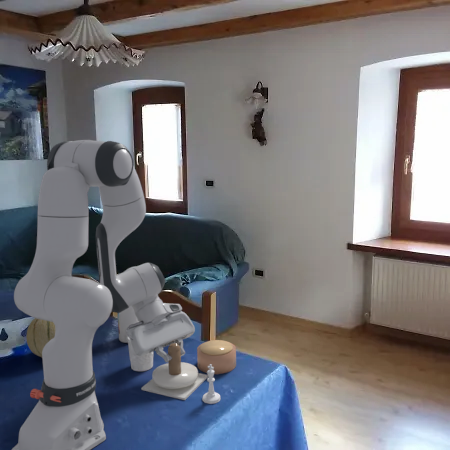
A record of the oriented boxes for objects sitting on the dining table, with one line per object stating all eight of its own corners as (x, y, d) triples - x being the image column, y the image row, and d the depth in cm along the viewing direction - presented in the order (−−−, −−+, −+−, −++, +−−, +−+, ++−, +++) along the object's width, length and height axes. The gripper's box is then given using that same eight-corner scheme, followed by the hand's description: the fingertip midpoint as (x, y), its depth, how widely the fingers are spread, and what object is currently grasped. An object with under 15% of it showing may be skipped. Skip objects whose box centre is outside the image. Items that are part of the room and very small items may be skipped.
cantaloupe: (46, 370, 149) (42, 324, 146) (18, 359, 157) (14, 315, 154) (84, 352, 161) (81, 309, 158) (56, 342, 169) (53, 301, 166)
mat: (184, 400, 130) (184, 398, 130) (141, 389, 136) (141, 387, 136) (208, 376, 143) (208, 375, 143) (167, 368, 149) (167, 366, 148)
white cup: (149, 373, 146) (148, 342, 144) (125, 371, 147) (123, 340, 145) (158, 361, 153) (157, 332, 151) (135, 360, 155) (133, 330, 153)
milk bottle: (145, 337, 172) (143, 283, 169) (130, 345, 166) (127, 289, 162) (129, 333, 176) (126, 280, 173) (114, 340, 170) (111, 286, 166)
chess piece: (214, 405, 127) (213, 370, 126) (198, 400, 130) (197, 366, 128) (224, 397, 131) (223, 362, 130) (209, 392, 134) (208, 358, 132)
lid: (183, 392, 131) (182, 357, 129) (143, 383, 136) (141, 349, 134) (205, 371, 142) (204, 338, 140) (167, 363, 148) (166, 331, 146)
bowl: (226, 377, 142) (226, 358, 141) (190, 369, 147) (190, 351, 146) (242, 360, 153) (241, 342, 152) (208, 353, 158) (207, 336, 157)
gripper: (127, 321, 133) (150, 365, 128) (184, 302, 148) (206, 341, 143) (119, 332, 137) (141, 375, 132) (175, 313, 152) (197, 351, 147)
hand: (176, 358), depth 138 cm, fingers closed on lid, 3 cm apart
